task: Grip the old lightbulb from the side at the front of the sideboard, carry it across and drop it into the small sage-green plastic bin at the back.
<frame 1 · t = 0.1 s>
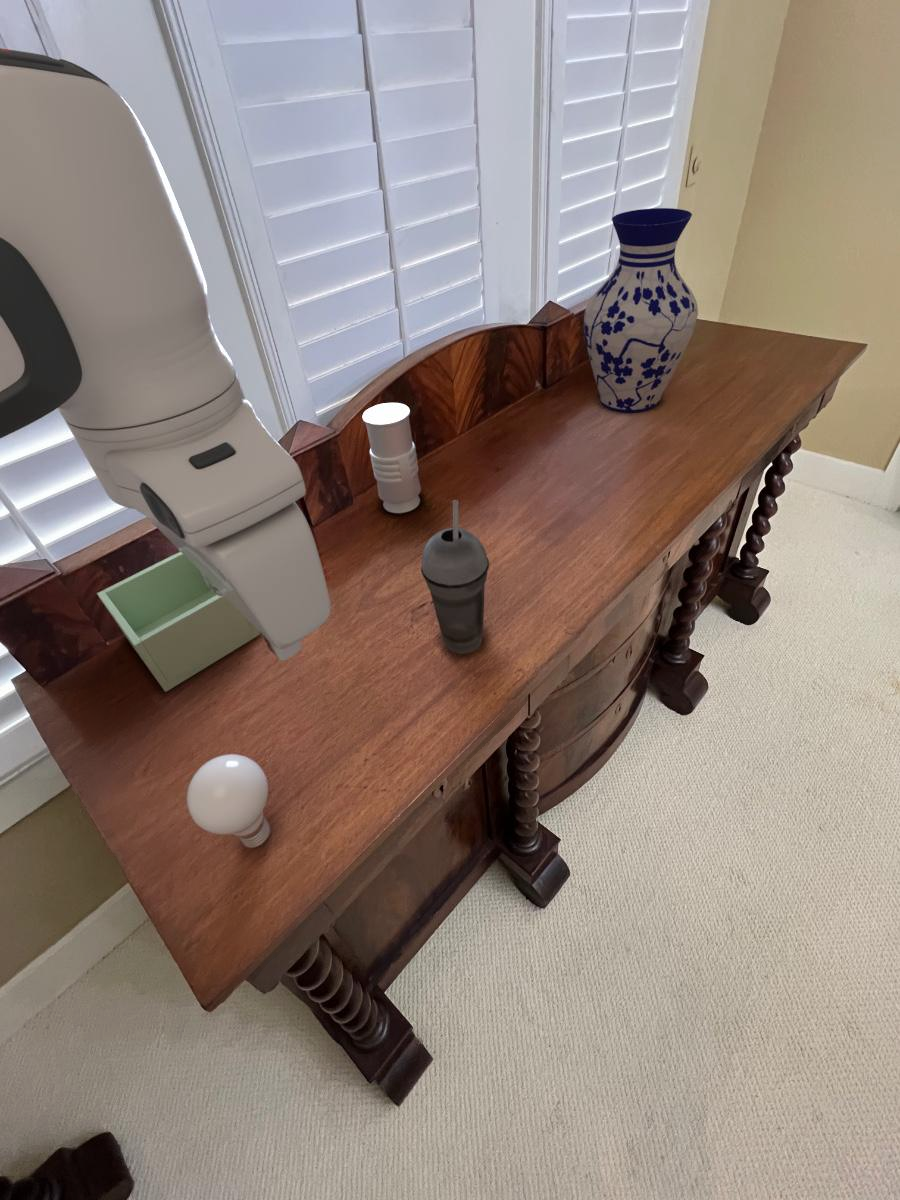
hand: (253, 617, 42), 23 cm above the sideboard, tool pointing down, fingers open, 8 cm apart
bin: (193, 636, 74), on the sideboard
lightbulb: (258, 837, 54), on the sideboard
white ribbed cylinder: (401, 503, 93), on the sideboard
vase: (629, 401, 112), on the sideboard
beverage cup: (463, 640, 70), on the sideboard
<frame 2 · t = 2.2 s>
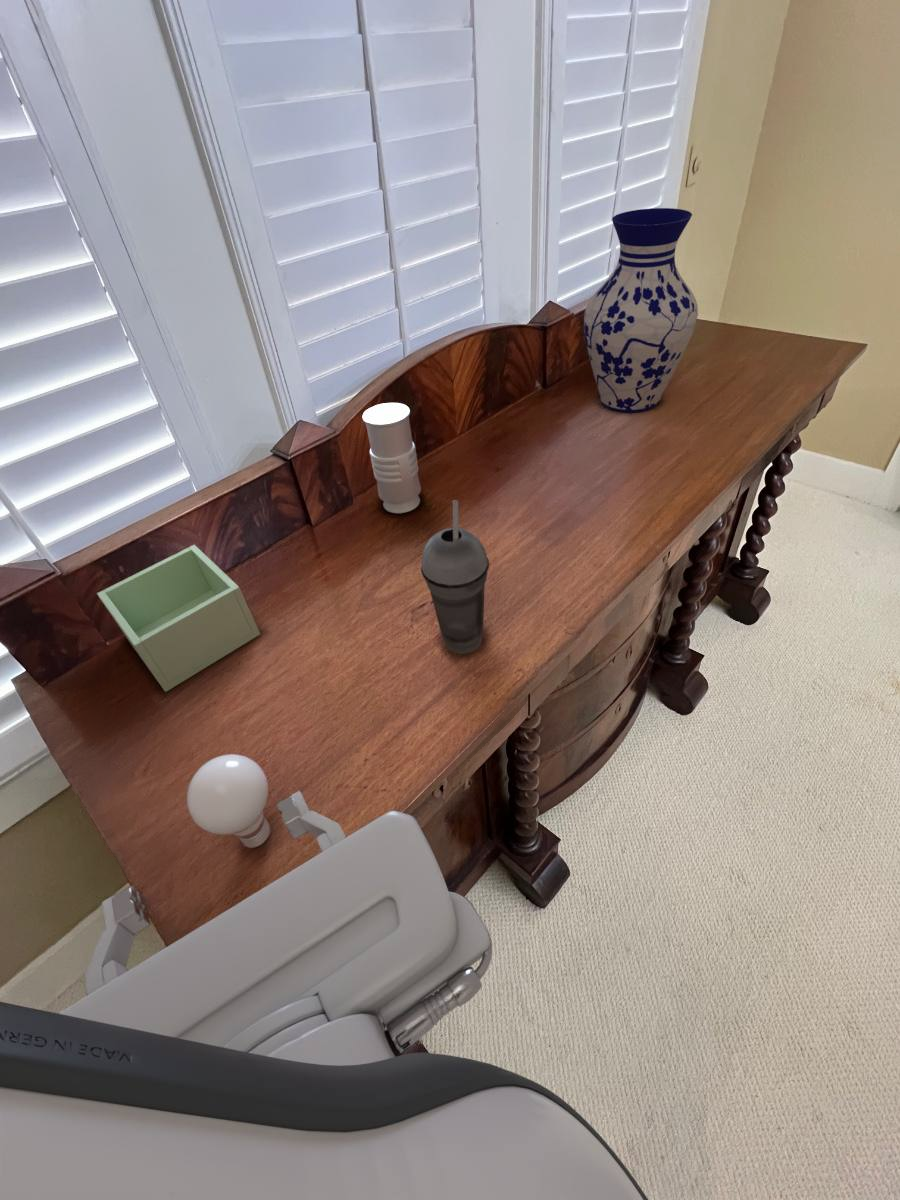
hand: (210, 846, 32), 20 cm above the sideboard, tool horizontal, fingers open, 8 cm apart
nothing on the sideboard moved.
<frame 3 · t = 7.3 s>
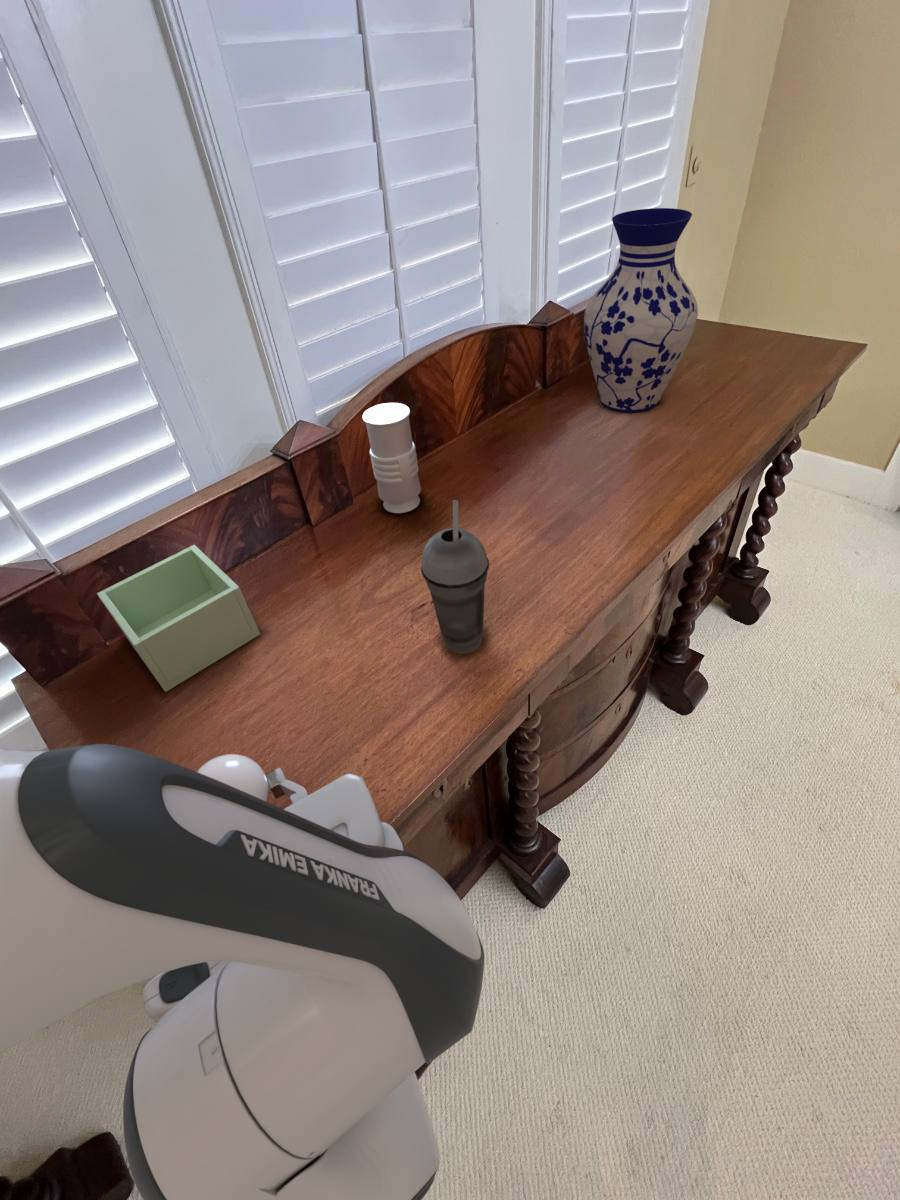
hand: (232, 796, 50), 6 cm above the sideboard, tool horizontal, fingers closed on lightbulb, 6 cm apart
lightbulb: (259, 837, 54), on the sideboard, touching gripper
everything else where it was.
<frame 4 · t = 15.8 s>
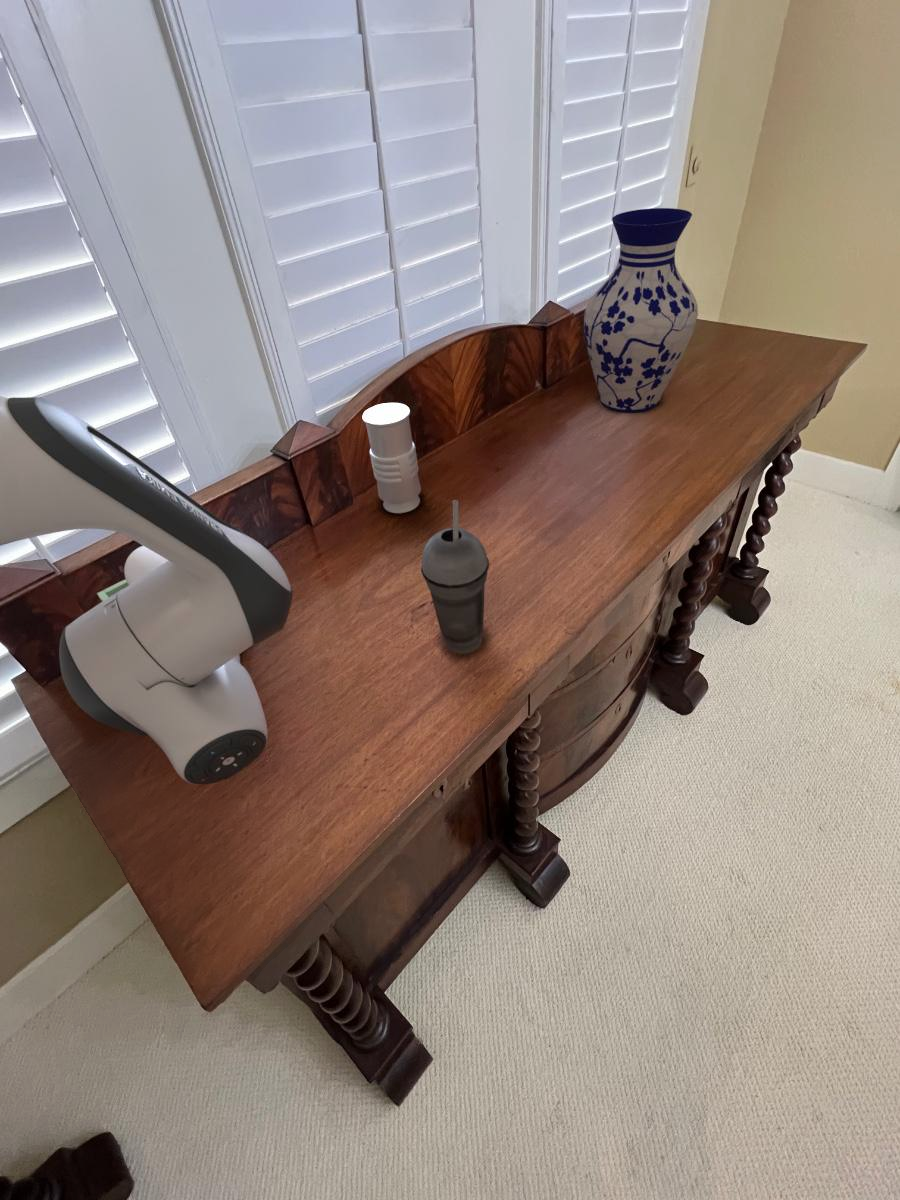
hand: (160, 579, 69), 9 cm above the sideboard, tool horizontal, fingers closed on lightbulb, 6 cm apart
lightbulb: (184, 620, 72), point 3 cm above the sideboard, touching gripper
everything else where it was.
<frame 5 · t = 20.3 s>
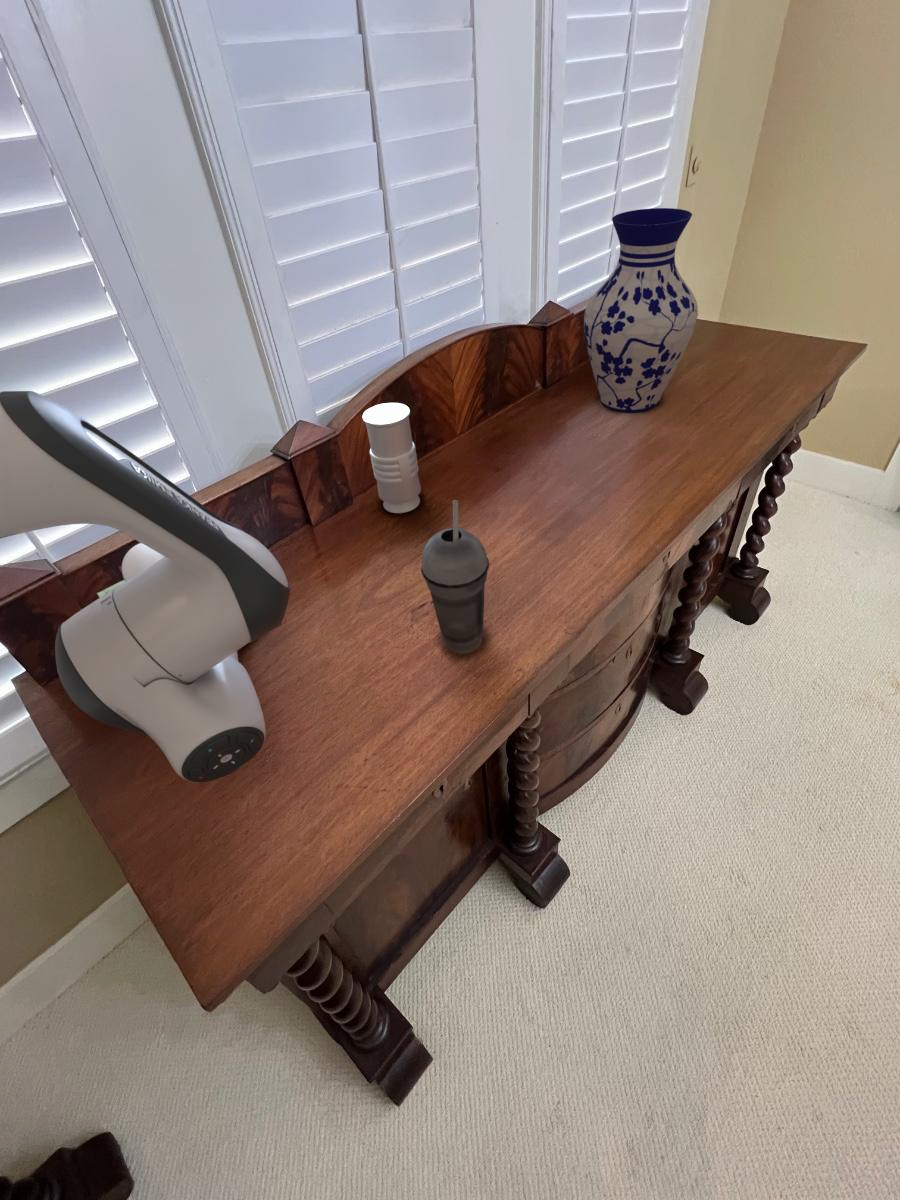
hand: (158, 577, 68), 10 cm above the sideboard, tool horizontal, fingers closed on lightbulb, 6 cm apart
lightbulb: (181, 618, 72), point 3 cm above the sideboard, touching gripper
everything else where it was.
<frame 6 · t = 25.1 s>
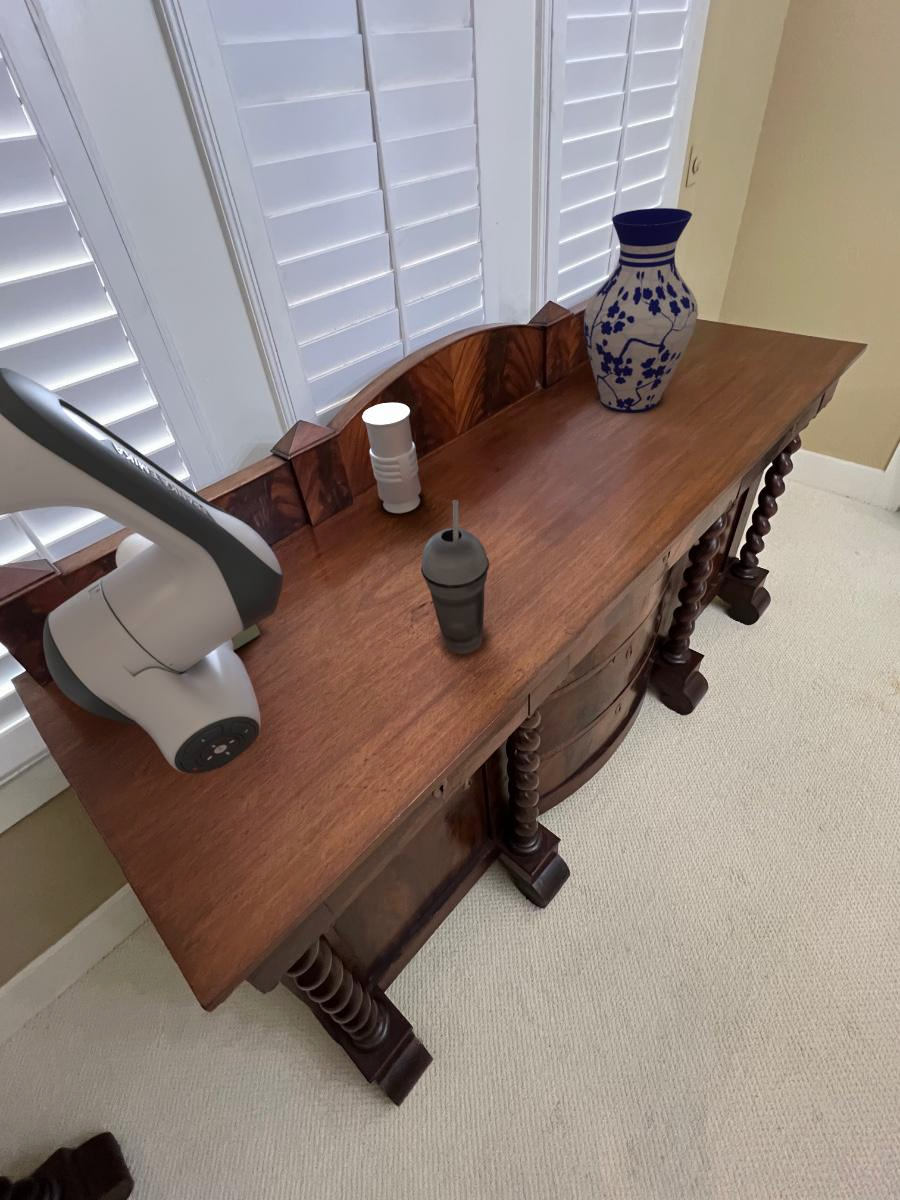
hand: (153, 568, 68), 11 cm above the sideboard, tool horizontal, fingers closed on lightbulb, 6 cm apart
lightbulb: (177, 611, 71), point 5 cm above the sideboard, touching gripper
everything else where it was.
when the fingers open (12 cm above the sideboard, at t = 34.0 s): lightbulb drops 4 cm, resting on bin.
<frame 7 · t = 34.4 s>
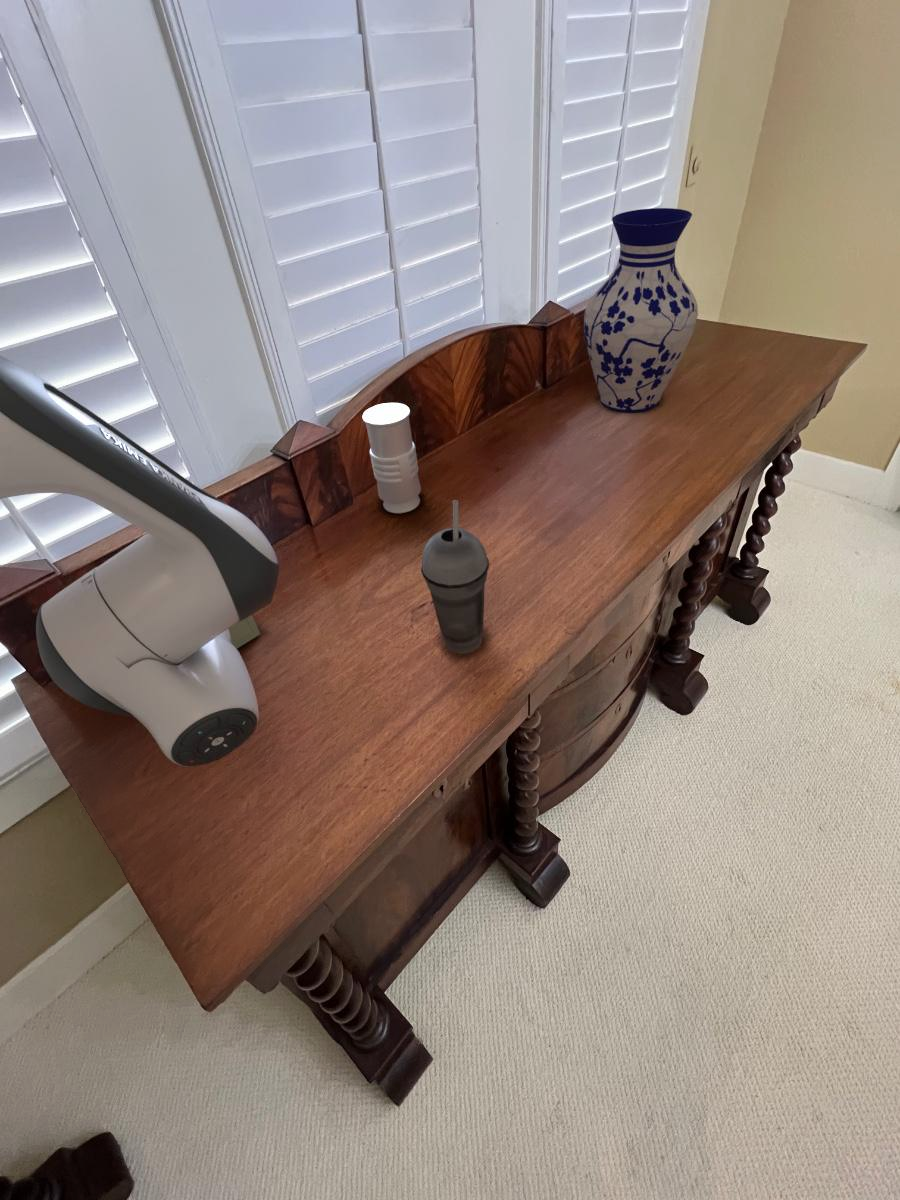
hand: (150, 560, 67), 12 cm above the sideboard, tool horizontal, fingers open, 8 cm apart
lightbulb: (184, 637, 73), point 1 cm above the sideboard, touching bin
everything else where it was.
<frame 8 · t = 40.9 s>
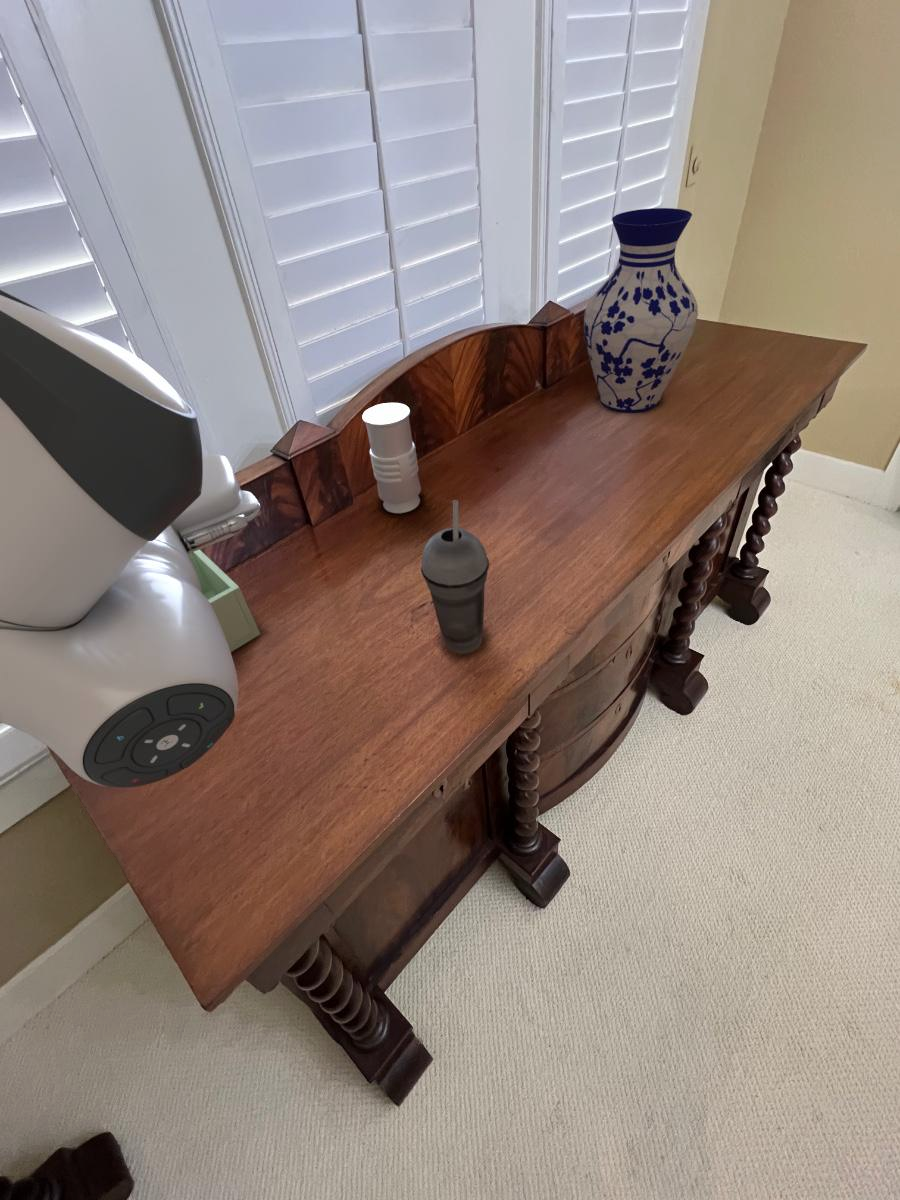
hand: (93, 487, 48), 28 cm above the sideboard, tool horizontal, fingers open, 8 cm apart
nothing on the sideboard moved.
at the end: lightbulb inside the target area in the bin (1.0 cm from its centre), point 0.8 cm above the bin's base; the gripper is holding nothing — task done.
